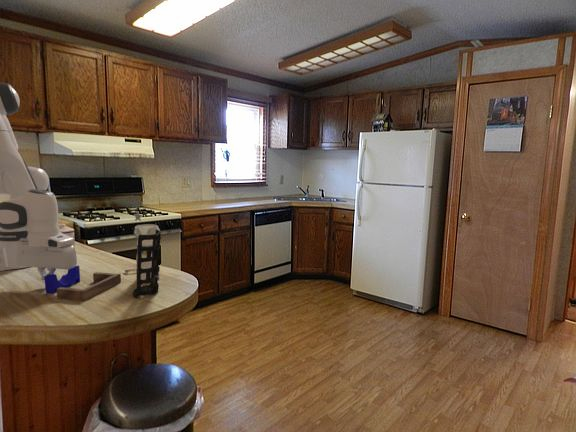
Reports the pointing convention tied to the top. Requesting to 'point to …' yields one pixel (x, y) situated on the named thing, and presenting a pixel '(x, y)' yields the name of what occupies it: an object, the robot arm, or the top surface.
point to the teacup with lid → (67, 232)
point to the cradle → (90, 287)
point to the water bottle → (145, 243)
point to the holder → (149, 271)
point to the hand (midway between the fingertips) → (47, 280)
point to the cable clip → (62, 280)
